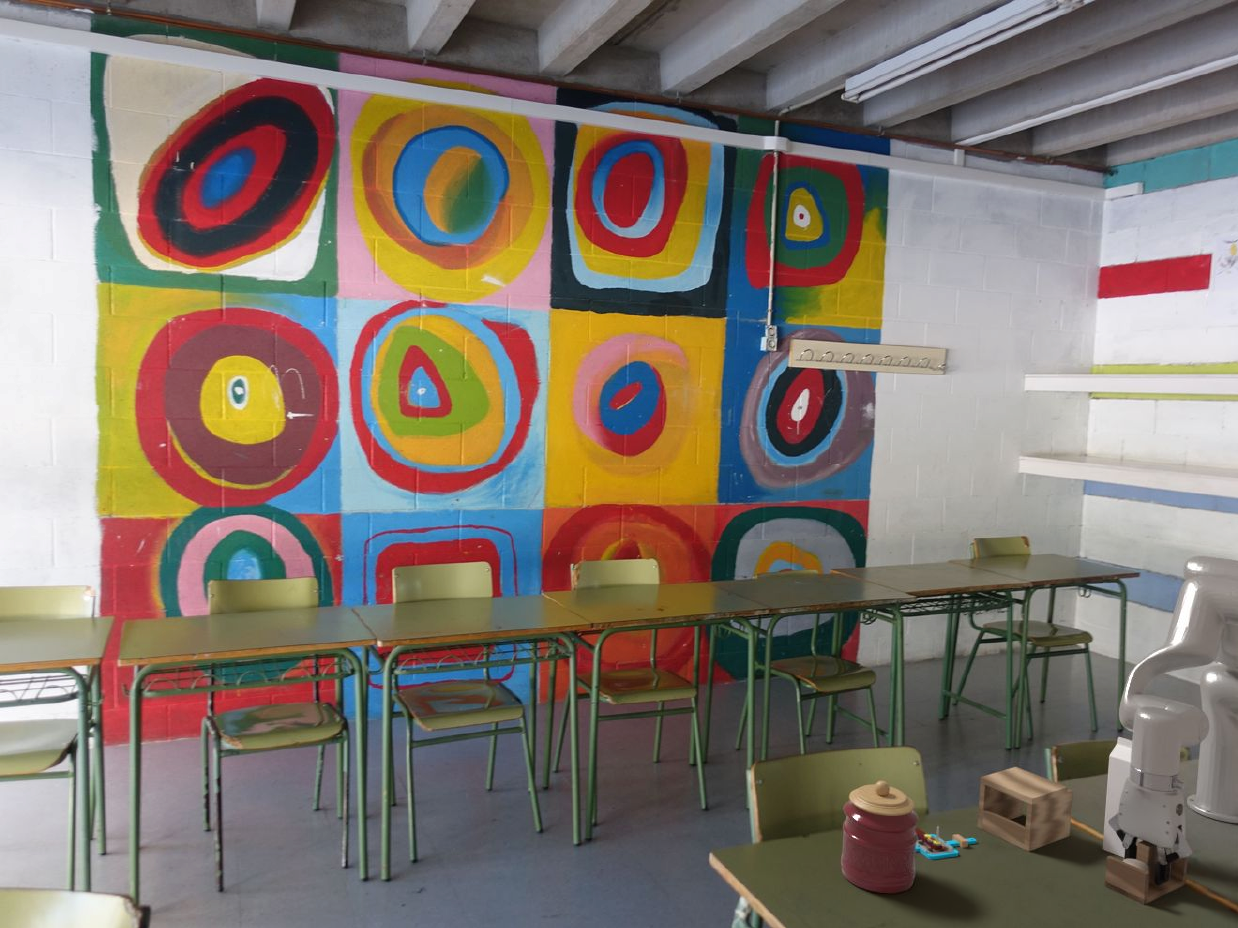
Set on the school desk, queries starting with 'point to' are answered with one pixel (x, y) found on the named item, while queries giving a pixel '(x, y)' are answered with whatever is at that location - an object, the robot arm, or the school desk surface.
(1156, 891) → the caddy
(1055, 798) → the shelf
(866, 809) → the canister
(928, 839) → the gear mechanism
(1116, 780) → the milk
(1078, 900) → the school desk surface
